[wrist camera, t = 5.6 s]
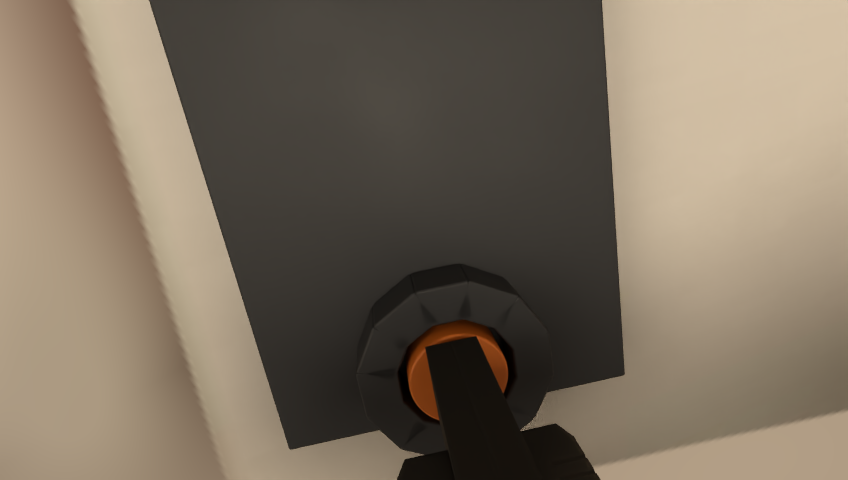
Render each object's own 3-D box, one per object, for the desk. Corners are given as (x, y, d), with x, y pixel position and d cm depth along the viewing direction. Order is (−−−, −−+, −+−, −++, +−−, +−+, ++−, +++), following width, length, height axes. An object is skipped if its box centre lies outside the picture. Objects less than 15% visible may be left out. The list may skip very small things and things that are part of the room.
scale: (607, 365, 18) (651, 414, 16) (298, 434, 18) (284, 498, 15) (565, -217, 13) (620, -307, 10) (121, -150, 12) (47, -226, 10)
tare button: (501, 383, 16) (514, 411, 15) (414, 402, 16) (418, 433, 14) (489, 303, 15) (502, 324, 14) (397, 322, 15) (400, 346, 14)
